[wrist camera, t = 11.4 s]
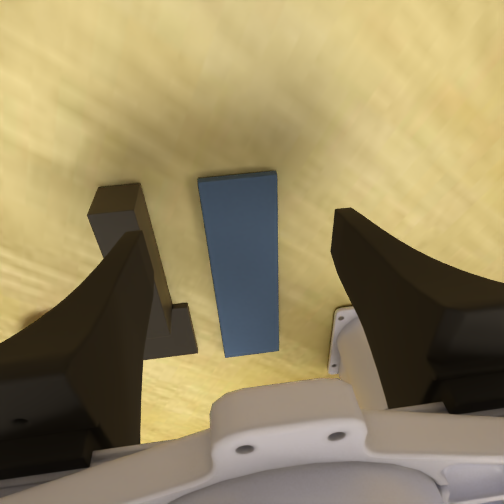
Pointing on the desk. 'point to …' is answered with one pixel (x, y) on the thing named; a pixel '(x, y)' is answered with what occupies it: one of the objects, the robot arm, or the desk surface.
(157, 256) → the tall dark brown pillar
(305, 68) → the desk surface
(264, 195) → the blue board
